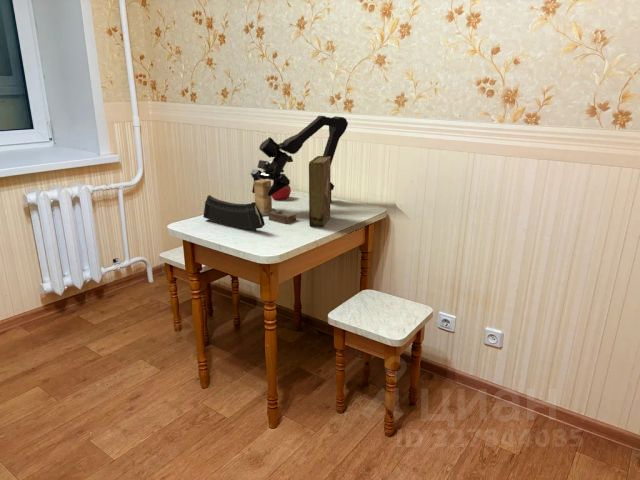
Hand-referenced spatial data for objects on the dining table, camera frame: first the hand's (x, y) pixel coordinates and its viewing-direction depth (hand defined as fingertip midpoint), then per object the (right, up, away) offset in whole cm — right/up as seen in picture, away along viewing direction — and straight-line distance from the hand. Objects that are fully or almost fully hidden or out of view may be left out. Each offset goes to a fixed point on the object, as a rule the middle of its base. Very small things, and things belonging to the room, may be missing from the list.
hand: (260, 194), depth 201 cm
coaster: (+1, -8, +4) cm, 8 cm away
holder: (+10, -11, -6) cm, 16 cm away
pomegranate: (+6, 0, +28) cm, 28 cm away
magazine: (-9, -14, -14) cm, 22 cm away
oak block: (+1, -7, +3) cm, 8 cm away
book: (+25, -12, -9) cm, 29 cm away
